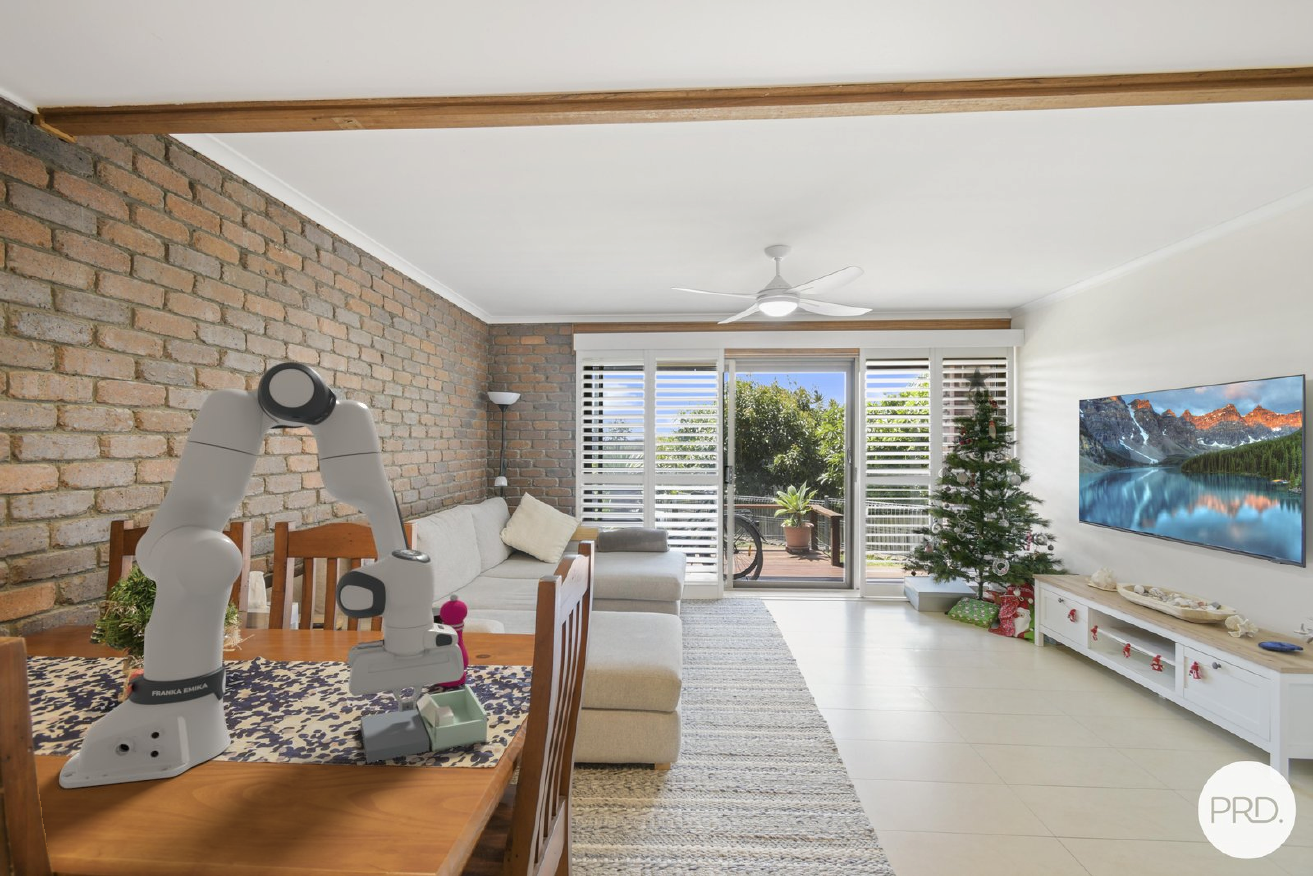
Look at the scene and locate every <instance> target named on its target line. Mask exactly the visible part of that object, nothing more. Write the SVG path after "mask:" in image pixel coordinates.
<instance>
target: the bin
mask: <svg viewBox="0 0 1313 876" xmlns="http://www.w3.org/2000/svg"><path fill="white" fill-rule="evenodd" d="M429 695H430V697H431V698H432V699H433V700H434V701H435V702H436V704H437V705H438V706H439V707H446V706H449V707H450V709H451V711H452V713H453V715H454V724H452V725H446V726H441V727H436V735H435V727H433V726H432V724H431V723H430V722H429V721H428V720H427V719H426V717H425V716H424V715H423V714H422V713H421V712H420V710H419V709H418V713H419V715H420V718H421V720H422V723H423V725H424V728H425V730H426V733H427V735H428V738H429V748H430V749H431V752H432V753H434V752H439V751H444V750H449V748H450V749H454V748H453V747H455V748H459V747H458V746H460V747H465V746H469V745H470V744H471V745H475V744H474V743H476V744H479V743H478V742H481V743H485V742H488V741H487V734H488V733H487V732H488V713H487V712H486V710H485V708H484V707H483V705H482V703H481V702H480V701H479V699H478V697H477V696H476V695H475V692H474V691H473V689H472V688H471V687H470V684H468V683H464V689H458V690H457V689H456V690H453V691H452V690H451V691H445V692H439V693H432V694H429ZM423 696H424V695H422V696H421V698H422V697H423ZM471 745H470V746H471Z"/></svg>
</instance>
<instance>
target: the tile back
mask: <svg viewBox="0 0 1313 876" xmlns="http://www.w3.org/2000/svg"><path fill="white" fill-rule="evenodd" d="M430 695H431V694H429V693H428V692H426V693H425V694H424V695H422V696H423V697H422V696H421V698H418V699H417V701H416V706H417V707H418V711H419V710H420V712H421V713H422V714H423V715H424V716H425V717H426V719H427V720H428V721H429V722H430V723H431V724H432V726H433V727H435V708H440V707H439V706H438V705H437V704H436V702H435V701H434V700H433V699H432V698H431V697H430Z"/></svg>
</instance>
